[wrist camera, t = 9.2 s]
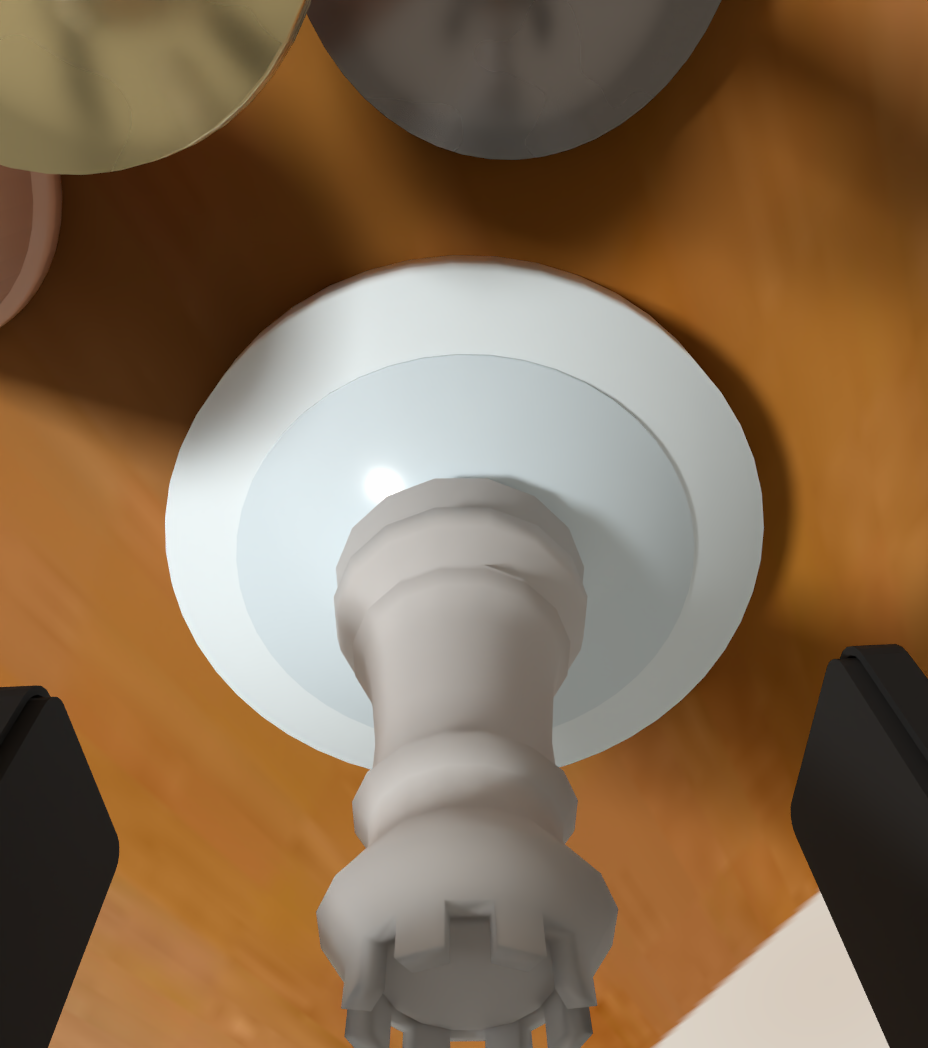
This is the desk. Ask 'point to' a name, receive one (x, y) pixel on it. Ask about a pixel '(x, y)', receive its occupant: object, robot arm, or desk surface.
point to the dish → (465, 452)
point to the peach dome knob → (26, 234)
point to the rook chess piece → (464, 777)
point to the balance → (357, 49)
